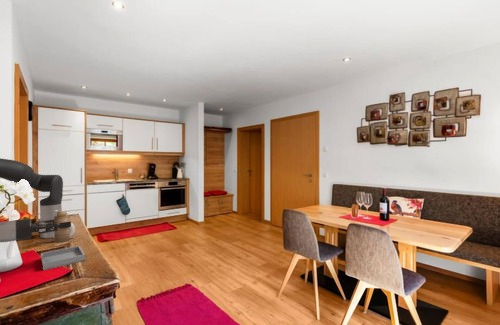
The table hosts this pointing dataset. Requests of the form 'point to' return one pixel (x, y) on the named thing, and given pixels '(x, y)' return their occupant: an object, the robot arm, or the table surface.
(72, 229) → the donut
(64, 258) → the tray
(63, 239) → the pepper mill
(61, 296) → the table surface
